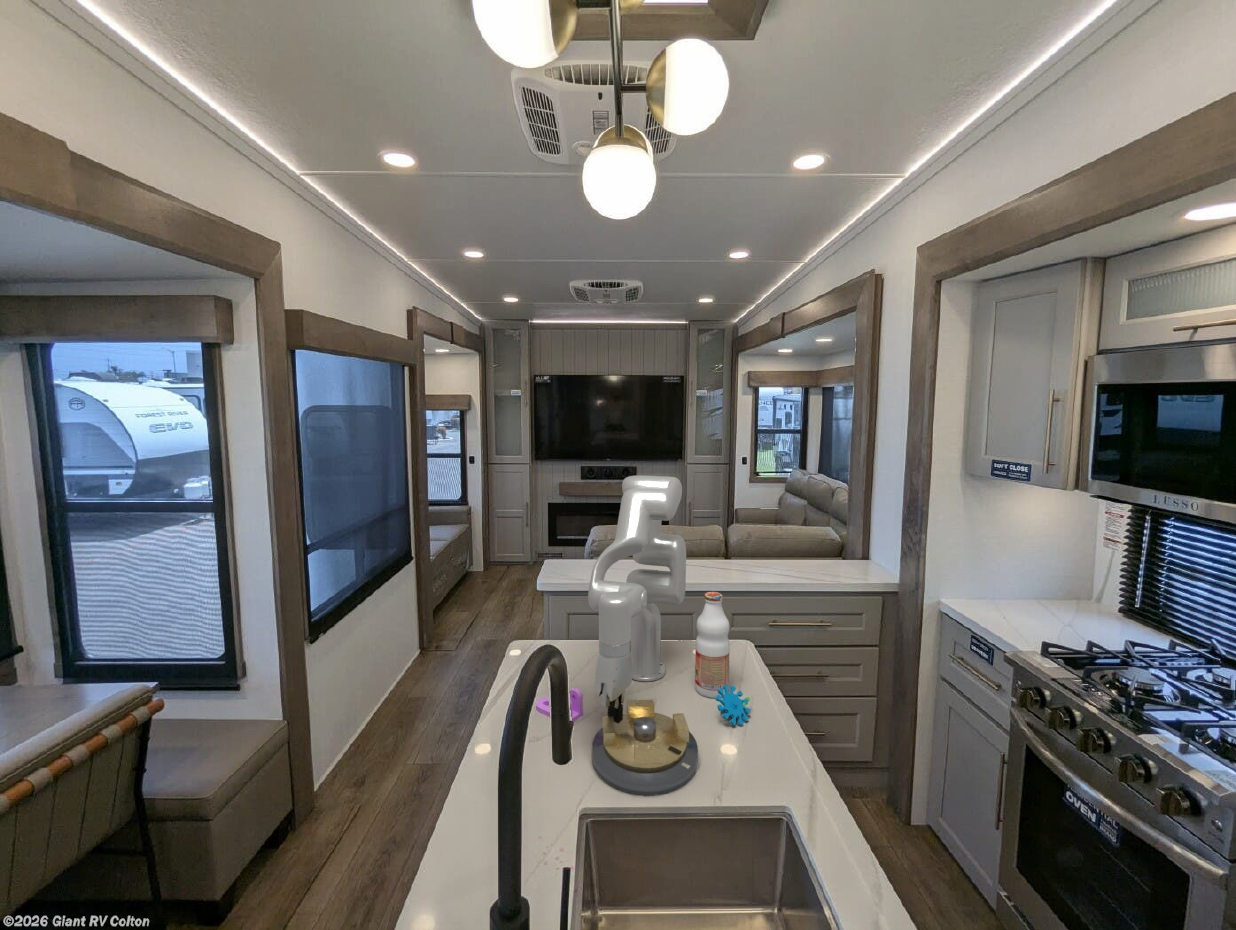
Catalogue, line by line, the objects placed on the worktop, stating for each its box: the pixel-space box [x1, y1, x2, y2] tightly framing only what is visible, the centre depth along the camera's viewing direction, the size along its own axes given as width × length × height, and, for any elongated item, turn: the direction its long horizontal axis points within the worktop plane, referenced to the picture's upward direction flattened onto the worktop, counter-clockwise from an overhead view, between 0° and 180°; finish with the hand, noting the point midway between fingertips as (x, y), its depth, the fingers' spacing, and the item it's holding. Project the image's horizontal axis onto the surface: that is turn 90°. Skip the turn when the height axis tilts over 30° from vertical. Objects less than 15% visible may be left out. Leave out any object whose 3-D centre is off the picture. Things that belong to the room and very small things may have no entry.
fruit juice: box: [694, 591, 731, 699], centre depth 146 cm, size 9×9×28 cm
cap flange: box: [591, 726, 699, 797], centre depth 119 cm, size 24×24×3 cm
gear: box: [714, 684, 751, 726], centre depth 135 cm, size 11×6×10 cm
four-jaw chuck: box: [602, 699, 690, 773], centre depth 119 cm, size 19×19×5 cm
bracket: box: [535, 687, 584, 723], centre depth 137 cm, size 13×6×7 cm, turn 55°
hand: (615, 719), depth 123 cm, fingers closed
